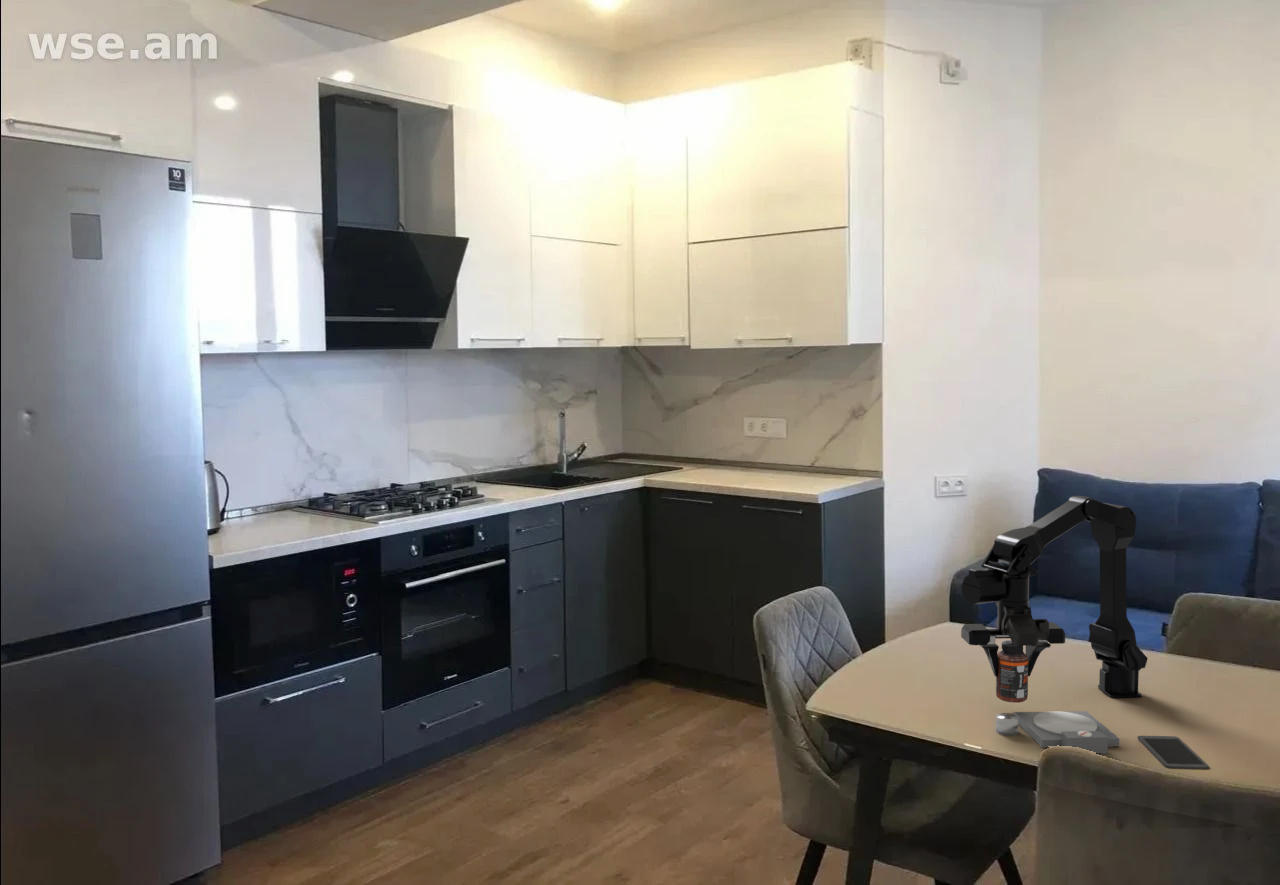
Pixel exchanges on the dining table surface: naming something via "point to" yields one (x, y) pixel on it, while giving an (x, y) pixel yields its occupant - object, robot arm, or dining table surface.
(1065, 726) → the scale
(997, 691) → the supplement bottle
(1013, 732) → the shiny metal cylinder
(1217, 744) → the dining table surface
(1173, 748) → the cell phone
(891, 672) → the dining table surface
